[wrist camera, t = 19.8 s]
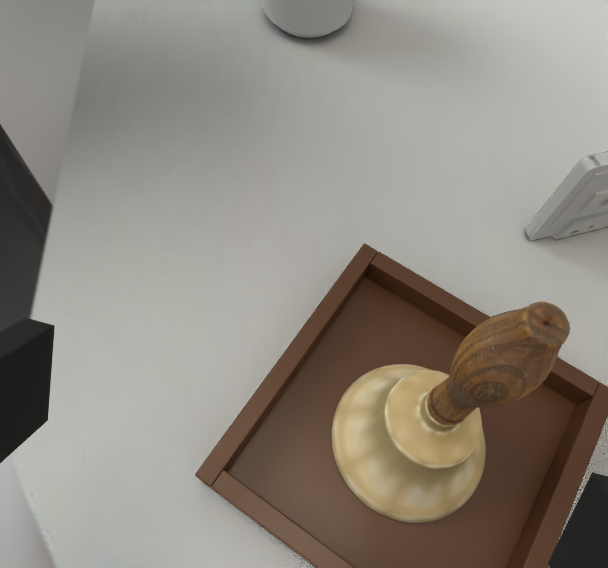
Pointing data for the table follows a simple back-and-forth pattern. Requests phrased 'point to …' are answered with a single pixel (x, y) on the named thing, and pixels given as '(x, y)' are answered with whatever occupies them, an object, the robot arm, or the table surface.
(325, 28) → the can
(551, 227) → the cassette
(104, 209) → the table surface
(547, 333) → the hand bell
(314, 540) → the tray
